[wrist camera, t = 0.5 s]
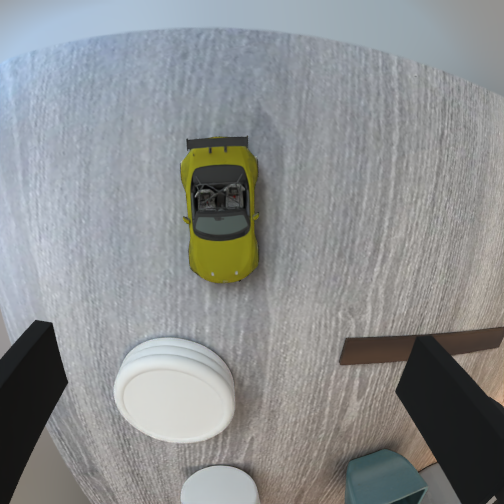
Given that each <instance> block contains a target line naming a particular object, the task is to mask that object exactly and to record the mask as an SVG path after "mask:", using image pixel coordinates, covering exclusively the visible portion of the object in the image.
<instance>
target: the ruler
mask: <svg viewBox="0 0 504 504" xmlns="http://www.w3.org/2000/svg"><path fill="white" fill-rule="evenodd" d="M427 335H432V336H433V337H434V338H435V339H436V340H437V341H438V342H439V343H440V345H441V346H442V347H443V348H444V349H445V350H446V351H447V352H448V353H449V354H450V355H456V354H463V353H470V352H476V351H482V350H487V349H493V348H498V347H499V346H500V344H501V342H502V339H503V337H504V327H499V328H491V329H483V330H473V331H463V332H453V333H441V334H427ZM427 335H412V336H393V337H366V338H346V339H345V343H344V347H343V350H342V354H341V357H340V361H339V363H340V365H355V364H371V363H385V362H397V361H407V360H408V358H409V355H410V353H411V350H412V347H413V344H414V342H415V339H416V336H427Z"/></svg>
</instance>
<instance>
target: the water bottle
mask: <svg viewBox="0 0 504 504" xmlns="http://www.w3.org/2000/svg"><path fill="white" fill-rule="evenodd" d="M419 474H420V475H421V477H422V478H423V479H424V481H425V482H426V483H427V485H428V490H427V491H426V493H425V495H424V497H423V498H422V501H421V502H420V504H461V502H460V500H459V499H458V497H457V495H456V493H455V491H454V490H453V488H452V486H451V484H450V483H449V481H448V479H447V477H446V476H445V474H444V472H443V470H442V469H441V467H440V465H439V463H436V464H433V465H431V466H429V467H427V468H425V469H424V470H422V471H421V472H419Z"/></svg>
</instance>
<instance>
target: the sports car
mask: <svg viewBox="0 0 504 504" xmlns="http://www.w3.org/2000/svg"><path fill="white" fill-rule="evenodd" d="M247 148H248V135H247V137H220V136H219V137H212V138H205V139H194V140H188V139H187V151H188V149H190V152H189V153H188V155H187V156H186V157H185V159H184V160H182V161H181V163H180V170H181V181H182V184H183V186H184V189H185V192H186V201H187V210H188V218H187V217H183V220H184V222H186V223H187V224H189V228H190V244H189V249H188V253H189V264H190V267H191V270H192V271H193V272H195V273H196V274H197V275H199V276H200V277H202V278H203V279H205V280H207V281H210V282H214V283H231V282H236V281H241V279H243V278H245V277H247V276H248V275H249V274H250V273H251V272H253V271H254V270H255V269H256V267H257V266H258V262H259V245H258V243H257V239H256V236H255V233H254V220H256V219H257V218H258V217H259V212H258V213H256V214H254V212H255V210H254V189H255V185H256V182H257V178H258V159H257V157H254V156H253V155H252V154H251V153H250V151H249V150H248V149H247Z"/></svg>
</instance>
